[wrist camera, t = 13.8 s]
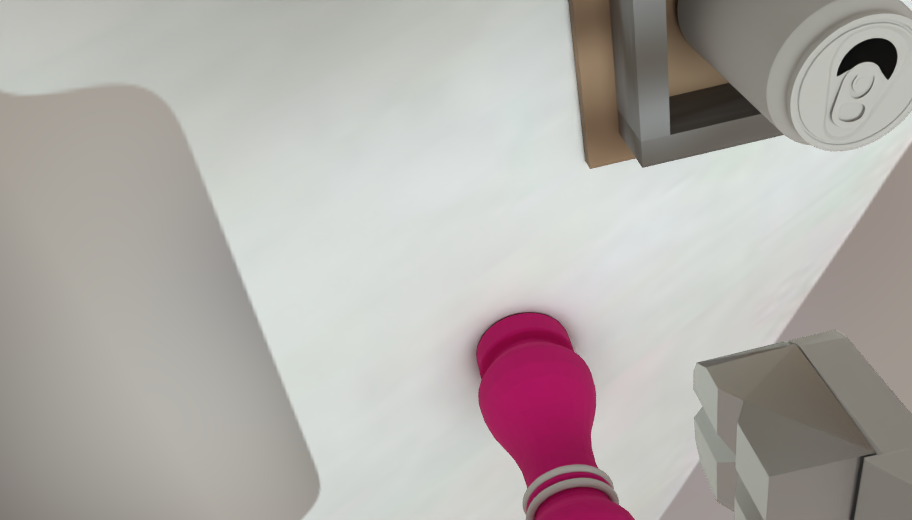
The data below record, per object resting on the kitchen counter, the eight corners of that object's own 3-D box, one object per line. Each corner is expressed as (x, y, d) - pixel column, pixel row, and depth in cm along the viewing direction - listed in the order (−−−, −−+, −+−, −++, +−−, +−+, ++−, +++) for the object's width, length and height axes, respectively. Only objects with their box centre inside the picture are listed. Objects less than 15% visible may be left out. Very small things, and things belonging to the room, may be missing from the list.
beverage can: (812, -68, 40) (974, 10, 30) (769, 58, 43) (900, 164, 34) (691, -81, 39) (818, -5, 29) (657, 50, 42) (759, 157, 32)
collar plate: (556, -119, 38) (584, -96, 34) (869, -191, 38) (935, -178, 34) (585, 160, 47) (610, 205, 42) (840, 101, 47) (889, 140, 43)
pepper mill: (483, 300, 51) (557, 580, 35) (589, 310, 53) (708, 583, 37) (458, 384, 55) (515, 673, 39) (558, 391, 57) (652, 671, 41)
